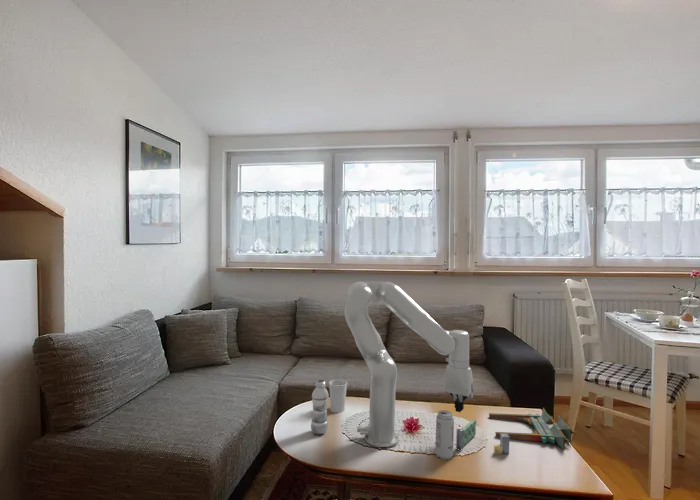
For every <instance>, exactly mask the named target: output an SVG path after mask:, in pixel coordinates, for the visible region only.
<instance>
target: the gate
mask: <svg viewBox="0 0 700 500" xmlns="http://www.w3.org/2000/svg"><path fill="white" fill-rule="evenodd" d="M476 426H477V421H476V419H472V420H471V421H469V423H467V424H466V425H465V426H463V428H461V429H462V430H463V447H465V445H466V444H467V442H468V443H469V441H471V440H472V439H471V438H473V437H475V436H476V429H477V427H476ZM474 435H475V436H474ZM470 439H471V440H470Z"/></svg>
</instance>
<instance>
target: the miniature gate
mask: <svg viewBox="0 0 700 500" xmlns="http://www.w3.org/2000/svg"><path fill="white" fill-rule="evenodd" d="M488 417H489V419H494V420H503V421H516V422H517V421H519V422H520V421H521V422H527V423H529V425H532V427H533V428H534V429H533V432H531V433H527V432H507V431H495V432H494V433H495V438H496V439H500V434H508V436H509V440H514V441H529V442H531V441H532V442H542V443H548V442H549V443H552V444H555V442H556V444H557V445H558V446H559V448H560V449H561V450H562V451H565V450H566V448H565V445H566V442H568V443H570V444H572V434H574V435H576V434H577V432H576V431H574V430H573V429H572V427H571V426H570V423H566V421H565V420H563V418H562V416H561V414H558V416H557V422H555V420H554V417H553V415H550V414H549V413H548V412H547V410H546V409H545V407H542V410H541V415H540V414H538V413H536V414H532V413H528V414H522V413H521V414H519V413H494V412H492V413H491V412H489V413H488Z"/></svg>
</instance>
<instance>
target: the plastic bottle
mask: <svg viewBox="0 0 700 500" xmlns="http://www.w3.org/2000/svg"><path fill="white" fill-rule="evenodd" d="M329 398H330V393H329V391H328V390H327V388H326V380H325V379H318V380H316V381H315V388H314V389H313V391H312V394H311V399H312V415H311V416H312V418H311V419H312V420H311V422H310V423H311V424H310V429H311V432H312V433H313V434H315V435H323V434H325V433H326V432H327V431H328V427H329V423H328V412H327V410H328V402H329Z"/></svg>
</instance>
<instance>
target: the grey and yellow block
mask: <svg viewBox="0 0 700 500" xmlns="http://www.w3.org/2000/svg"><path fill="white" fill-rule="evenodd" d="M499 439H500V440H499V441H500V442H499V444H495V443H494V444H493V454H494V455H500V456H501V455H503V454H504V455H505V454H506V455H510V439H509V436H508V434H500V438H499Z"/></svg>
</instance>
